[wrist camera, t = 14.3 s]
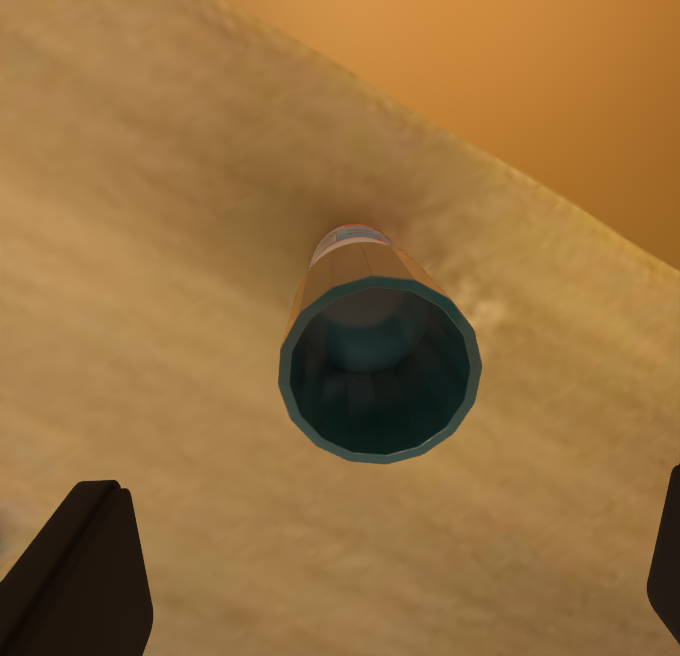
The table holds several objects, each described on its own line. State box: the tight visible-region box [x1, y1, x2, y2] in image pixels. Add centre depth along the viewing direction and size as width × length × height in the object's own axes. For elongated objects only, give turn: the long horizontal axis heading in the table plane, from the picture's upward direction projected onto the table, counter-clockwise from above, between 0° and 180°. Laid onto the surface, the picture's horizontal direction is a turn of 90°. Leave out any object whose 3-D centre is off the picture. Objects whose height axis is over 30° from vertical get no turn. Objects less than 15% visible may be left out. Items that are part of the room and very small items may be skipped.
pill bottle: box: [309, 224, 395, 269], centre depth 30 cm, size 6×6×11 cm
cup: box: [278, 242, 482, 464], centre depth 21 cm, size 7×7×8 cm
